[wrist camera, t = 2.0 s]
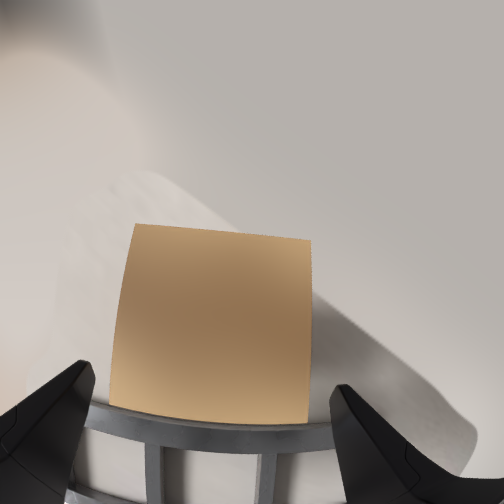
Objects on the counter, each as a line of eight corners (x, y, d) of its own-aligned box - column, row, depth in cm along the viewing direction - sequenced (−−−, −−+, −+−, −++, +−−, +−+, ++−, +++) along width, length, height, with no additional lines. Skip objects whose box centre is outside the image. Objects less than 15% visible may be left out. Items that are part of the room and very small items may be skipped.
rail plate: (351, 516, 13) (359, 523, 12) (70, 495, 11) (62, 501, 10) (366, 417, 17) (376, 420, 15) (62, 391, 15) (52, 392, 13)
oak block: (247, 381, 17) (307, 422, 5) (181, 375, 17) (109, 404, 5) (251, 318, 19) (310, 240, 7) (186, 312, 19) (135, 223, 7)
